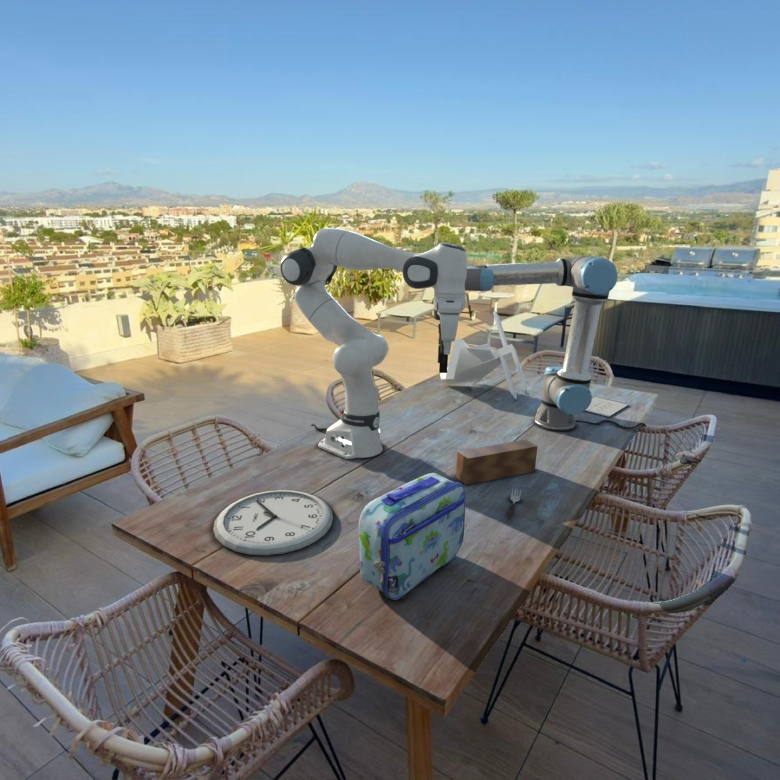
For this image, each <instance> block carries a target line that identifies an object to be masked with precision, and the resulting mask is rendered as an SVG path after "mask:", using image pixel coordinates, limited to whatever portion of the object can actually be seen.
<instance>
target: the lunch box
mask: <svg viewBox="0 0 780 780" xmlns="http://www.w3.org/2000/svg"><path fill="white" fill-rule="evenodd" d="M465 490H466V489H465V486H464V484H463V482H458V481H455V482H454V481H452V480H450V479H449V478H446V477H444V476H442V475H440V474H438V473H437V472H436V473H435V472H429V473H427V474H424V475H423V476H422V475H421V476H420V477H418V478H416V479H415V478H414V479H413V480H411V481H409V482H407V483H404V484H403V485H401V486H399V487H397V488H394V489H392V490H390V491H388V492H387V493H384V494H383V495H380V496H379V497H376V498H375V499H373V500H370V501H369V502H368V503H367V504H366V505H365V507H364V508H363V509H362V511H361V513H360V516H359V519H358V548H359V549H358V550H359V551H358V552H359V553H358V554H359V555H358V556H359V573H360V578H361V580H362V581H363V582H364V583H366V584H368V585H370V586H372V587H374V588H376V589H377V590H378V591H379V592H382V593H383V594H384V596H385V597H386V598H388V599H390V600H392V601H398V600H400V599H402V598H403V597H404V596H405V595H407V594H408V593H409V592H410V591H412V590H413V589H415V588H416V587H417V586H419V584H421V583H422V582H423V581H425V580H427V579H428V577H430V576H431V575H433V573H435V571H436V570H438V569H440V568H441V567H443V566H445V565H446V564H448V563H449V562H451V561H452V560H453V559H454V558H455V557H456V556H457V554H459V551H460V549H461V547H462V545H463V541H464V538H465V537H464V536H465V524H466V523H465V521H466V520H465V519H466V491H465Z"/></svg>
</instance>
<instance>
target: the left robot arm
mask: <svg viewBox="0 0 780 780" xmlns="http://www.w3.org/2000/svg"><path fill="white" fill-rule="evenodd" d="M467 255H468V254H467V252H466V249H465V248H464V247H463V246H461V245H459V244H455V243H449V242H440V243H439V244H437V246H436V247H433V248H432V249H430V250H428V251H424V252H422V253H416V252H411V251H408V250H404V249H400V248H396V247H392V246H389V245H387V244H384V243H382V242H380V241H377V240H374V239H372V238H370V237H367V236H365V235H363V234H361V233H357V232H354V231H350V230H348V229H344V228H343V229H342V228H336V227H322V228H320V229H319V230H317V232H316V233H315V234H314V236H313V239H312V244H311V246H309V247H305V246H303V247H302V246H301V247H299V248H297V249H294V250H292V251H290V252H289V253H287V254H285V255H284V256H283V257H282V259H281V261H280V264H279V265H280V267H279V269H280V274H281V276H282V278H283V280H284V281H285V282H286V283H287V284H289V285H292V286H297V287H296V289H295V291H294V294H293V300H294V302H295V304H296V305H297V307H298V309H299V310H300V311H301V313H302V314H303V316H304V317H305V319H306V320H307V321H308V322H309V323H310V324H311V325H312V326H313V327H314V329H315V330H316V331H317V332H318V333H319V334H320V335H321V336H322V337H323V339H325V340H326V341H327V342H331V343H333V344H336V345H337V346H338V347H337V348H336V349H335V350H334V352H333V354H332V365H333V367H334V369H335V371H336V372H337V373H338V374H339V375H340V377H341V379H342V383H343V389H344V408H343V409H342V410H340V411H338V416H341V418H340V419H338V420H337V421H335V422H334V423H331V424H330V426H329V427H328V428H321V427H318V426H317V425H316V424H315V423H311V425H310V426H311V427H313V428H314V429H315V430H317V431H325V435H324V438H322V439H321V440H320V441H319V442H318V446H317V448H319V449H322V450H324V451H326V452H327V453H328V452H329V453H331V454H333V455H335V456H338V457H340V458H343V459H345V460H352V459H364V458H365V459H366V458H371V457H375V456H377V455H380V454H381V453H382V452H383V450H384V448H383V445H382V440H381V436H380V433H381V430H380V421H381V418H380V417H381V414H380V412H381V411H380V409H379V387H378V385H377V384H376V383H375V381H374V377H373V368H374V367H377V366H379V365H380V364H382V363H383V361H385V359H386V358H387V356H388V354H389V351H390V350H389V349H390V347H389V343H388V340H386V338H385V337H384V336H382V335H380V334H378V333H375V332H373V331H372V330H370V329H369V328H367V327H366V326H364V325H363V324H362V323H360V322H359V321H357V320H356V319H354V318H353V316H351V315H350V314H349V313H348V312H347V311H346V310H345V309H344V308H343V306H342V305H340V303H339V302H338V301H337V300H336V298H334V297H333V296H332V295H331V294H330V292H329V291H328V290H327V288H326V286H327V285H330V284H331V283H332V280H333V277H334V276H335V274H336V272H337V270H338V268H342V269H346V270H351V271H360V272H361V271H373V270H383V269H385V270H386V269H387V270H395V271H399V272H402V277H403V280H404V282H405V284H406V285H407V286H408V287H410V288H412V289H415V290H424V289H430V288H432V289H433V298H434V301H433V310H434V309H436V310H437V311H438V315H439V316H440V320H439V324H441V338H442V341H443V346H444V354H445V355H448V356H449V355H451V351H452V345H453V344H452V343H453V342H454V341H455V339H457V338H456V337H457V333H458V326H459V320H460V315H461V314H462V312H463V311H464V310H465V307H466V292H467V291H465V280H466V277H467V265H468V256H467Z"/></svg>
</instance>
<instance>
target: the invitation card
mask: <svg viewBox="0 0 780 780" xmlns="http://www.w3.org/2000/svg"><path fill="white" fill-rule="evenodd" d="M628 406H629V404H627V403H623V402H618V401H614V400H609V399H605V398H601V397H596V396H593V397H592V401H591V404H590V406H589V407H588V408H587V409H586V410H584V411H583V412H587V413H593V414H596V415H600V416H604V417H608V418H609V417H611V416H613V415H614V414H616V413H617V412H619V411H621V410H623V409H624V408H626V407H628Z"/></svg>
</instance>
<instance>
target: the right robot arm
mask: <svg viewBox="0 0 780 780" xmlns="http://www.w3.org/2000/svg"><path fill="white" fill-rule="evenodd" d="M618 274H619V273H618V270H617V267H616V265H615V264H614V263H613V262H612V261H611V260H610V259H607V258H606V257H602V256H593V255H587V254H586V255H579V256H574V257H565V258H558V259H557V260H556V261H544V262H543V261H542V262H541V261H539V262H520V263H501V264H500V263H499V264H477V265H475V264H467V277H466V280H465V291H466V292H467V291H468V292H481V293H482V292H490V291H492V290H493V287H495V286H496V287H497V286H522V285H523V286H524V285H525V286H526V285H550V284H552V285H553V284H555V285H556V286H557V287H571V288H572V290H571V291H572V293H571V297H572V298H573V299H574V306H573V311H572V315H571V316H572V317H571V322H570V327H569V332H568V337H567V343H566V348H565V353H564V354H565V355H564V358H563V363H562V364H563V365H562V366H548V367H546V368H545V369H544V373H543V381H542V382H543V384H542V394H541V402H540V405H539V407H538V408H537V411H536V413H535V417H534V424H535V425H536V426H537V427H539V428H542V429H544V430H549V431H556V432H567V431H572V430H574V429H575V428H576V423H580V424H588V425H593V426H598V425H602V423H610V424H614V425H615V426H617V427H619V428H621V429H626V430H633V429H636V428H639V427H640V426H641V425H642V426H643V427H644V428H645V427H647V425H646V423H644V422H639V423H637V424H635V425H634V426H624V425H622V424H619V423H618V422H615V421H614V420H611V419H602V420H600V421H599V422H592V421H587V420H578V419H576V418H575V417H576V416H575V415H578V414H581V413H583V412H585V411H584V410H586V409H587V408H588V407H589V406H590V404H591V401H592V398H593V395H592V391H591V390H590V386H591V382H592V376H591V375H590V373H589V368H590V365H591V358H592V355H593V349H594V345H595V339H596V335H597V329H598V324H599V320H600V314H601V310H602V305H603V304H604V303H607V302H608V300H609V295H610V292H611V291H612V290H613V289H614V288H615V286H616V284H617V282H618V277H619V276H618ZM432 302H434V297H433V298H432ZM433 319H434V320H435V321H440V316H439V315H438V311H437V310H436V309H434V308H433ZM437 330H438V339H437V341H438V346H437V347H438V348H437V364H439V366H438V367H439V368H438V373H439V374H440V373H447V367H448V366H449V362H448V361H449V355H445V354H444V346H443V341H442V338H441V324H440V323H438V325H437Z"/></svg>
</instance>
